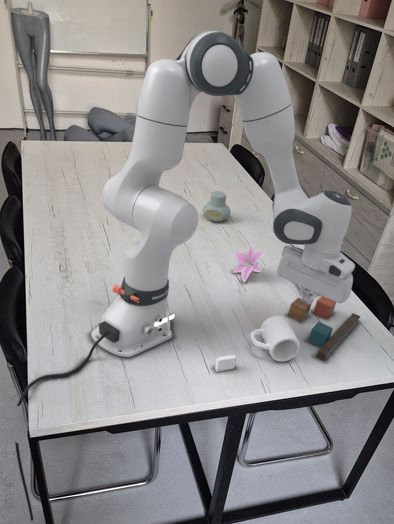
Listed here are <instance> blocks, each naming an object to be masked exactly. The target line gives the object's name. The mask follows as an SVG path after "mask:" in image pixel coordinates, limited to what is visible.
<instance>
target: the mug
mask: <svg viewBox="0 0 394 524" xmlns="http://www.w3.org/2000/svg"><path fill="white" fill-rule="evenodd" d="M256 335H257V336H258V335H261V336H262V339H263V341H264V342H261V341H259V340H257V339H256V337H255V336H256ZM249 339H250V341H251V343H252V344H253V345H254V346H256V347H257V348H259V349H262V350H267V351H268V352H269V355H270V357H271V358H272V359H273V360H274V361H277V362H287V361H290V360H293V359H294V358H295V357H296V356H298V354H299V353H300V351H301V343H300V341H299V339H298V337H297V335H296V333H295V331H294V329H293V327H292V325H291V324H290V322H289V319H287V318H286V317H285V316H283V315H273V316H270V317H268V318H267V319H265V320H264V321H263V323H262V324H261V326H260V328H257V329H254V330H252V331H251V332H250V334H249Z"/></svg>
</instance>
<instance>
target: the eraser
mask: <svg viewBox="0 0 394 524" xmlns="http://www.w3.org/2000/svg"><path fill="white" fill-rule="evenodd" d="M236 362H237V357H236V355H235V354H230V355H224V356H219V357H216V359H215V366H214V370H215V371H216V372H222V371H228V370H233V369H235V366H236Z"/></svg>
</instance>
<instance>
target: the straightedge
mask: <svg viewBox="0 0 394 524" xmlns="http://www.w3.org/2000/svg"><path fill="white" fill-rule="evenodd" d="M360 319H361V315H359V314H357V313H354V312H352V313H351V315H350V316H349V317H347V319H346V320H345V321H344V322H343V323H342V324H341V325H340V326H339V328H337V330H336V331H334V333H333V334H331V336H330V338H329V340H328V341H327V342H326V343H325V344H324V345H323V346H322V347H319V349H318V351H317V354H316V358H317V359H319V360H322V361H324V362H325V361H326V360H327V359H328V357H330V355H331V354H332V353H333V352H334V351H335V350H336V348H337V347H338V346H339V345H340V344H341V343H342V341H343V340H345V338H346V337H347V336H348V335H349V334H350V333H351V331H352V330H354V328H355V327H356V326H357V325H358V323H359V321H360Z"/></svg>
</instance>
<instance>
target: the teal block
mask: <svg viewBox="0 0 394 524" xmlns="http://www.w3.org/2000/svg"><path fill="white" fill-rule="evenodd" d="M333 329H334V327H332V326H330V325H327V324H325V323H322V322H321V321H317V322H316V323H315V325H313V327H312V328H311V331H310V334H309V337H308V340H307V342H308V343H310V344H313V345H314V346H317V347H319V348H321V347H322V346H323V345H324V344H325V343H326V342H327V341H328V340H329V338H330V337H331V336H332V333H333Z"/></svg>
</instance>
